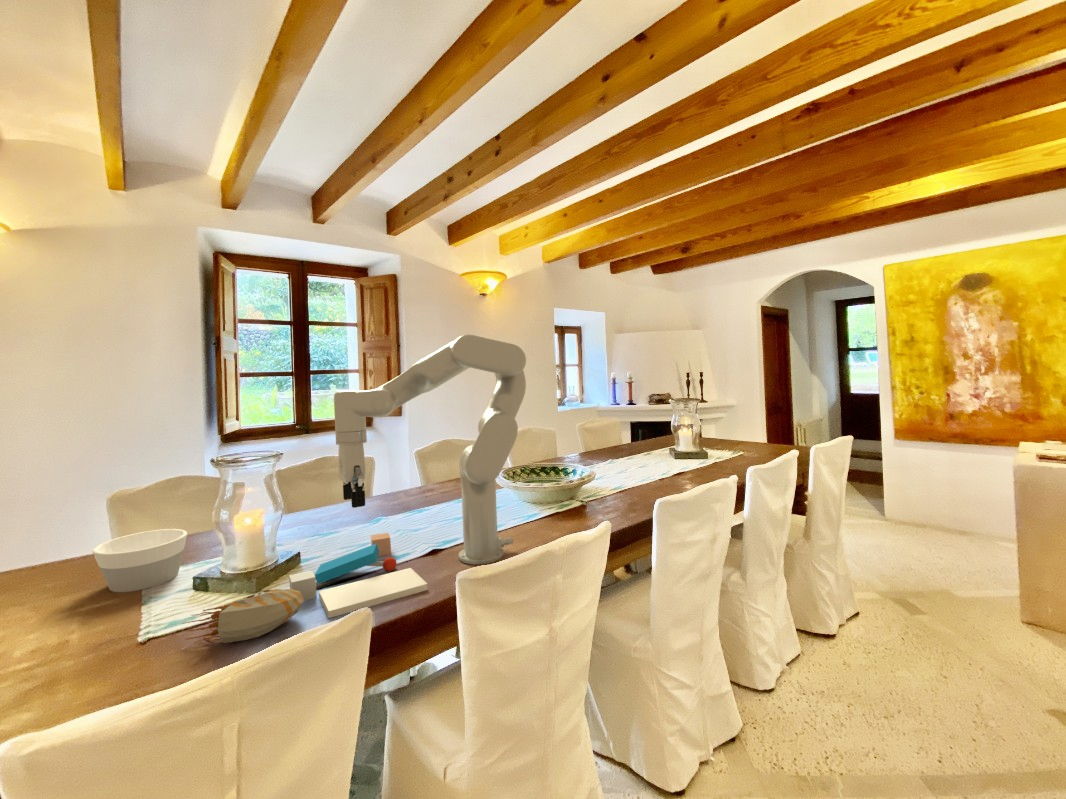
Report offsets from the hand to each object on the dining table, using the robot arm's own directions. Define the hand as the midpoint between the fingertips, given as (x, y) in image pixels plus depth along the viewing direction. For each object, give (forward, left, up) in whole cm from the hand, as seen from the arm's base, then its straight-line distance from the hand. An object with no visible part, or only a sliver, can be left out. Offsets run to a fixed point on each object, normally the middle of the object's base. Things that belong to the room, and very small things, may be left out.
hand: (354, 502), depth 124 cm
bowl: (+47, -31, -19) cm, 59 cm away
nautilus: (+26, +17, -19) cm, 36 cm away
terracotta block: (-9, -11, -19) cm, 23 cm away
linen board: (0, +15, -19) cm, 24 cm away
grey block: (+14, +6, -19) cm, 24 cm away
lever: (0, 0, -19) cm, 19 cm away
